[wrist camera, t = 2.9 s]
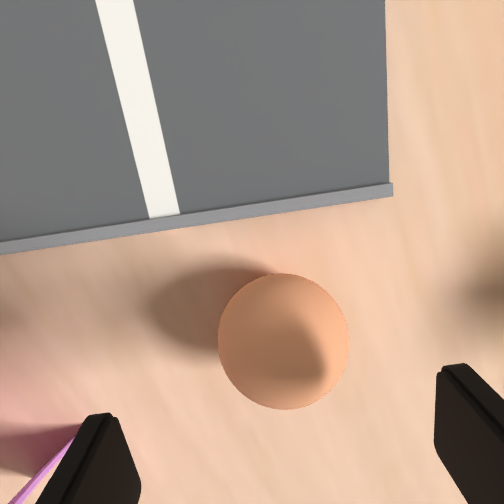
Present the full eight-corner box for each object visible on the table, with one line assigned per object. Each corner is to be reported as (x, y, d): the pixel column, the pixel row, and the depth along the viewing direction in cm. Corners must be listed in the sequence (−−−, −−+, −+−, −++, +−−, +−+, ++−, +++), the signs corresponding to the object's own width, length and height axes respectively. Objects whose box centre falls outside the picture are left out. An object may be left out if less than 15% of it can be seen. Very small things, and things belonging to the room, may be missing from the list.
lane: (373, -116, 12) (427, -237, 9) (382, 193, 16) (424, 205, 12) (-199, -5, 13) (-379, -68, 10) (-73, 261, 17) (-167, 292, 13)
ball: (326, 249, 17) (365, 299, 11) (335, 347, 19) (372, 434, 13) (214, 265, 17) (194, 322, 11) (233, 360, 19) (224, 451, 13)
